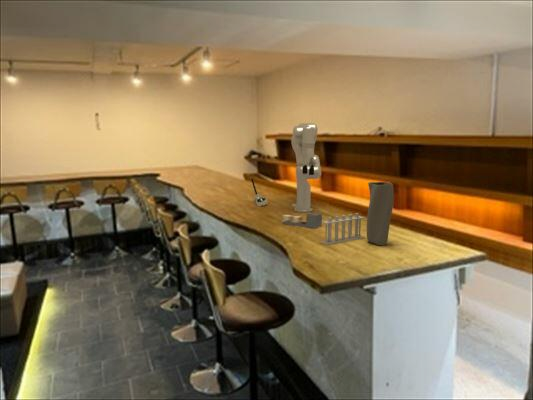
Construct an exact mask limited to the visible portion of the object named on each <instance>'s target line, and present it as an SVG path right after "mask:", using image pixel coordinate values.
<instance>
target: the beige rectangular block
mask: <svg viewBox="0 0 533 400" xmlns="http://www.w3.org/2000/svg"><path fill="white" fill-rule="evenodd" d="M283 221H284V222H292V223H300V224H302V222H303V216H300V215H292V214H291V215H290V214H283V215H281V222H283Z"/></svg>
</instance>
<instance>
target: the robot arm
mask: <svg viewBox="0 0 533 400" xmlns="http://www.w3.org/2000/svg"><path fill="white" fill-rule="evenodd" d="M317 136H318V126H317V124H316V123H312V122H311V123H309V122H307V123H306V122H305V123H304V122H303V123H299V124H298V125H295V126H293V128H292V136H291V139H290V141H291V146H292V151H294V153H295V159H296V165H297V166H296V167H295V177H296V203H292V204H291V207H293V208H294V211H295V212H299V213H308V212H309V213H310V212H312V211H313V210H314V209H313V208H311V197H312V196H311V195H312V194H311V190H312V189H311V184H310V182H309V181H308V180H318V179H320V178H321V176H322V167H321V163H320V157H319V155H317V154H315V144H316V142H317Z"/></svg>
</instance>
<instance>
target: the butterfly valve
mask: <svg viewBox="0 0 533 400" xmlns="http://www.w3.org/2000/svg"><path fill="white" fill-rule="evenodd" d="M250 180H251V183H252V186H253V191H254V194H255V195H254V196H253V202H254V203H255V204H256V206H257V207H261V206H265V205H267V204H268V203H269V201H268V198H267V197H263V196H262V194H261V193H258V191H257V189H256V185H255V181H254V179H253V178H252V177H251V178H250Z"/></svg>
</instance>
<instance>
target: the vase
mask: <svg viewBox="0 0 533 400" xmlns="http://www.w3.org/2000/svg"><path fill="white" fill-rule="evenodd" d="M367 184H368V190H369V204H368V210H367V216H366V239H367V241H368V242H369V243H371V244H374V245H378V246H386V245H387V243H388V241H389V240H388V239H389V232H390V225H391V219H392V213H393V209H394V202H395V201H394V200H395V194H394V193H395V192H394V191H395V190H394V184H393V183H391V182H387V181H376V182H375V181H371V182H368V183H367ZM385 244H386V245H385Z"/></svg>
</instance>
